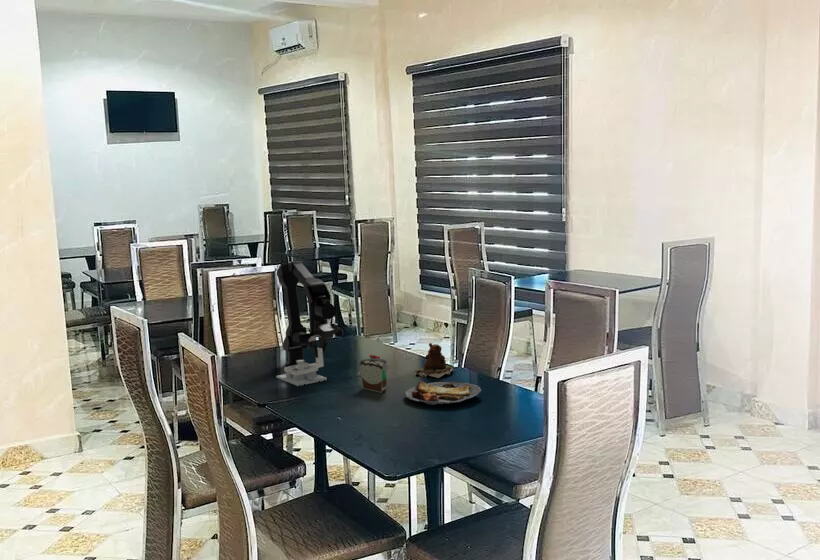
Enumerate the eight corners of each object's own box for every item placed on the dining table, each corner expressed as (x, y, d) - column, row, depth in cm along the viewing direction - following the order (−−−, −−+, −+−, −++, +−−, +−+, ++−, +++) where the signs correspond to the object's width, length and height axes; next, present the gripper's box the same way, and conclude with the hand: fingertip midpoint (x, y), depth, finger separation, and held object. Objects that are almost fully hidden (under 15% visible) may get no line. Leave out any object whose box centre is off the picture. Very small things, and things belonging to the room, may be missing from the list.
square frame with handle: (316, 364, 300) (314, 345, 299) (328, 367, 293) (327, 349, 292) (284, 371, 292) (282, 352, 291) (296, 375, 285) (294, 356, 284)
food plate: (394, 405, 255) (393, 394, 254) (418, 386, 276) (418, 376, 276) (469, 410, 246) (469, 399, 246) (488, 390, 268) (487, 380, 267)
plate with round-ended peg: (276, 378, 294) (275, 360, 293) (304, 372, 301) (303, 354, 300) (297, 386, 281) (296, 367, 280) (326, 380, 288) (325, 361, 288)
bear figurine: (461, 370, 297) (460, 338, 296) (440, 379, 285) (439, 346, 283) (430, 366, 305) (429, 335, 303) (408, 375, 292) (407, 343, 291)
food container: (397, 389, 272) (396, 361, 271) (384, 393, 268) (383, 364, 267) (372, 384, 281) (371, 356, 280) (359, 387, 276) (358, 359, 275)
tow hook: (389, 370, 298) (380, 356, 295) (371, 389, 293) (362, 374, 290) (378, 367, 303) (369, 353, 300) (361, 386, 298) (351, 371, 295)
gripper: (305, 322, 281) (308, 365, 283) (350, 315, 292) (352, 356, 294) (290, 318, 290) (293, 360, 292) (334, 311, 301) (336, 352, 303)
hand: (319, 357), depth 295 cm, fingers closed on square frame with handle, 2 cm apart
